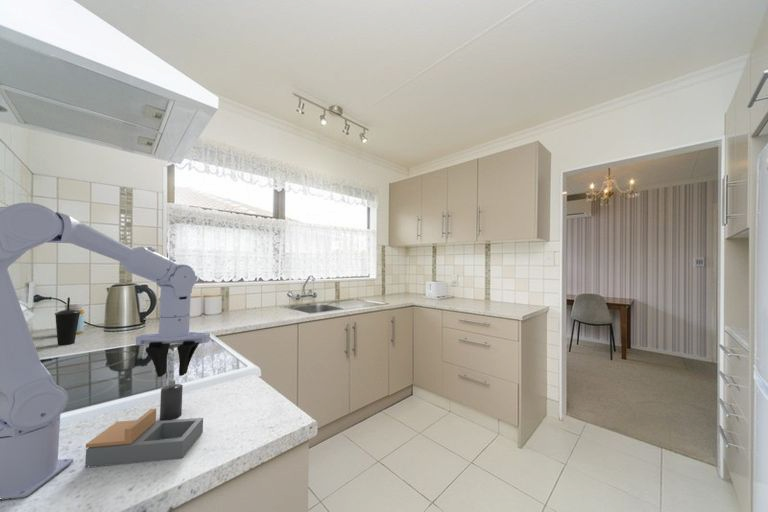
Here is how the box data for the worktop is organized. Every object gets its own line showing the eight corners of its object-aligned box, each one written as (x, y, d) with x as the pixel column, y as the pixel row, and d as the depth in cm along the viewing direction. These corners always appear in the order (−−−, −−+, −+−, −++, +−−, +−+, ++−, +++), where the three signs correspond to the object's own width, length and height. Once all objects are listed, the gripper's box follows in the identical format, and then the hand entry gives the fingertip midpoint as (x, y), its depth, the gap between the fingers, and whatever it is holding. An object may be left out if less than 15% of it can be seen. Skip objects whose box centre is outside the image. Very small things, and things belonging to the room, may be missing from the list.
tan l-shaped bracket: (85, 447, 49) (86, 432, 49) (117, 424, 56) (117, 411, 56) (130, 443, 50) (131, 428, 50) (155, 421, 57) (156, 408, 57)
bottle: (84, 331, 144) (85, 302, 145) (81, 334, 139) (83, 303, 139) (63, 333, 140) (65, 303, 140) (60, 336, 134) (62, 304, 135)
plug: (155, 421, 62) (157, 385, 63) (166, 412, 66) (167, 378, 67) (175, 420, 63) (177, 384, 63) (184, 411, 67) (186, 377, 67)
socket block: (85, 467, 48) (86, 449, 48) (119, 439, 56) (120, 423, 56) (182, 457, 51) (183, 440, 51) (202, 432, 59) (203, 417, 59)
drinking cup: (68, 341, 126) (70, 296, 126) (84, 341, 125) (86, 296, 126) (46, 346, 118) (49, 298, 119) (64, 346, 118) (66, 298, 119)
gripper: (215, 312, 71) (213, 367, 70) (150, 313, 68) (148, 370, 68) (203, 317, 64) (200, 377, 63) (130, 318, 61) (127, 381, 61)
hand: (172, 374), depth 65 cm, fingers open, 4 cm apart
